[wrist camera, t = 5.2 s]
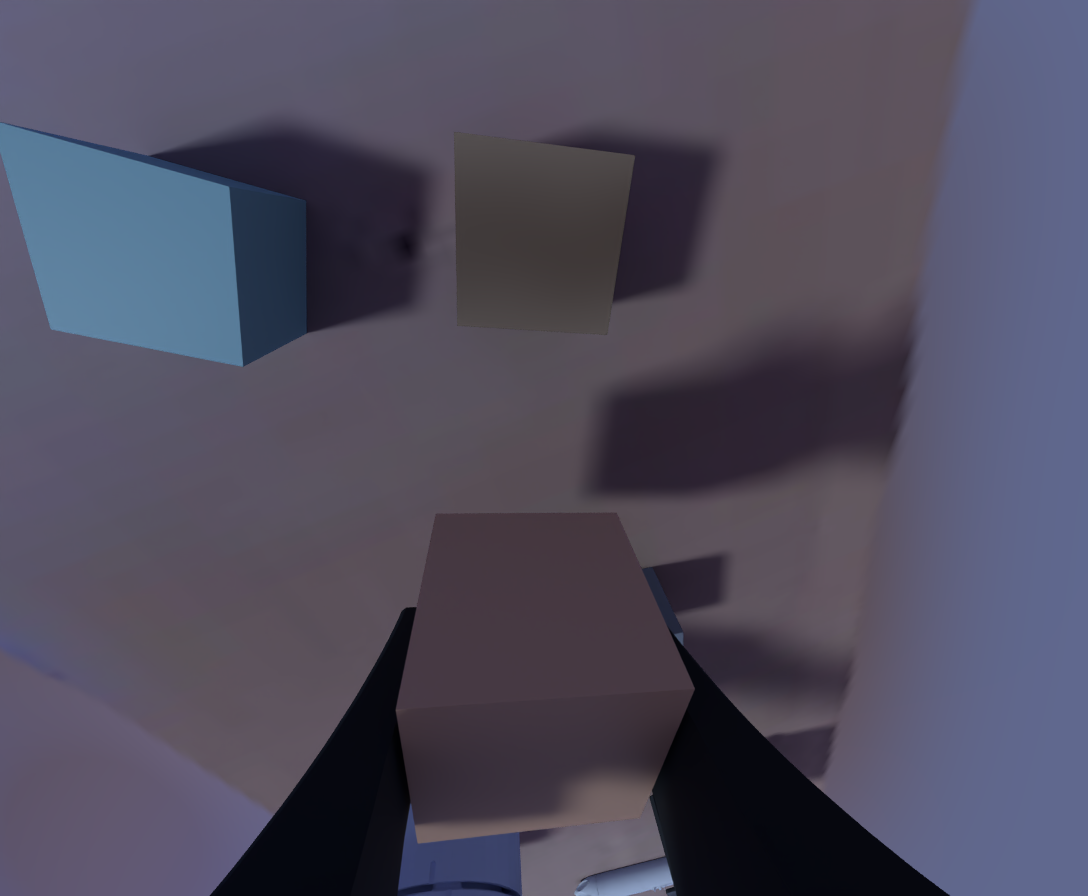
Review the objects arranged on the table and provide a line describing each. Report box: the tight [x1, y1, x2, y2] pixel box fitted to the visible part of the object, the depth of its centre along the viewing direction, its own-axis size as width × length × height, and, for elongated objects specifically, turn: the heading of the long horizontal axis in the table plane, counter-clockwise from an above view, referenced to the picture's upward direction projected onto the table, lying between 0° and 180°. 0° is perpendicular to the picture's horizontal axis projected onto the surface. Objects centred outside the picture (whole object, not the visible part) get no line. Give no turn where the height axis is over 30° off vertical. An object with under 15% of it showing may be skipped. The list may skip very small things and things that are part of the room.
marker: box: [574, 857, 673, 896], centre depth 41 cm, size 18×2×2 cm, turn 104°
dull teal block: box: [0, 122, 307, 367], centre depth 11 cm, size 4×4×4 cm
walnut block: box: [454, 132, 635, 335], centre depth 11 cm, size 4×4×4 cm
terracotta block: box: [396, 513, 695, 844], centre depth 10 cm, size 5×5×5 cm
